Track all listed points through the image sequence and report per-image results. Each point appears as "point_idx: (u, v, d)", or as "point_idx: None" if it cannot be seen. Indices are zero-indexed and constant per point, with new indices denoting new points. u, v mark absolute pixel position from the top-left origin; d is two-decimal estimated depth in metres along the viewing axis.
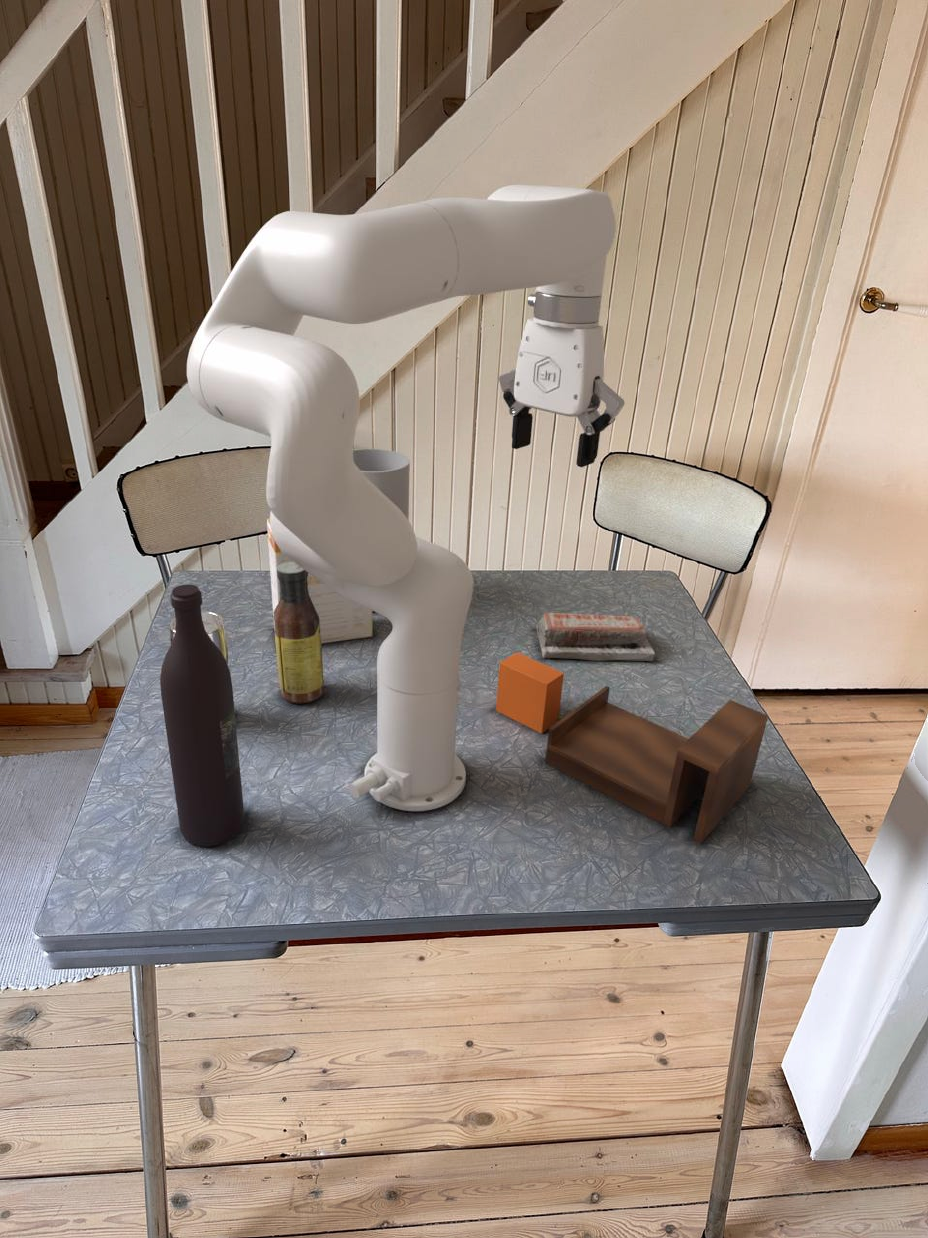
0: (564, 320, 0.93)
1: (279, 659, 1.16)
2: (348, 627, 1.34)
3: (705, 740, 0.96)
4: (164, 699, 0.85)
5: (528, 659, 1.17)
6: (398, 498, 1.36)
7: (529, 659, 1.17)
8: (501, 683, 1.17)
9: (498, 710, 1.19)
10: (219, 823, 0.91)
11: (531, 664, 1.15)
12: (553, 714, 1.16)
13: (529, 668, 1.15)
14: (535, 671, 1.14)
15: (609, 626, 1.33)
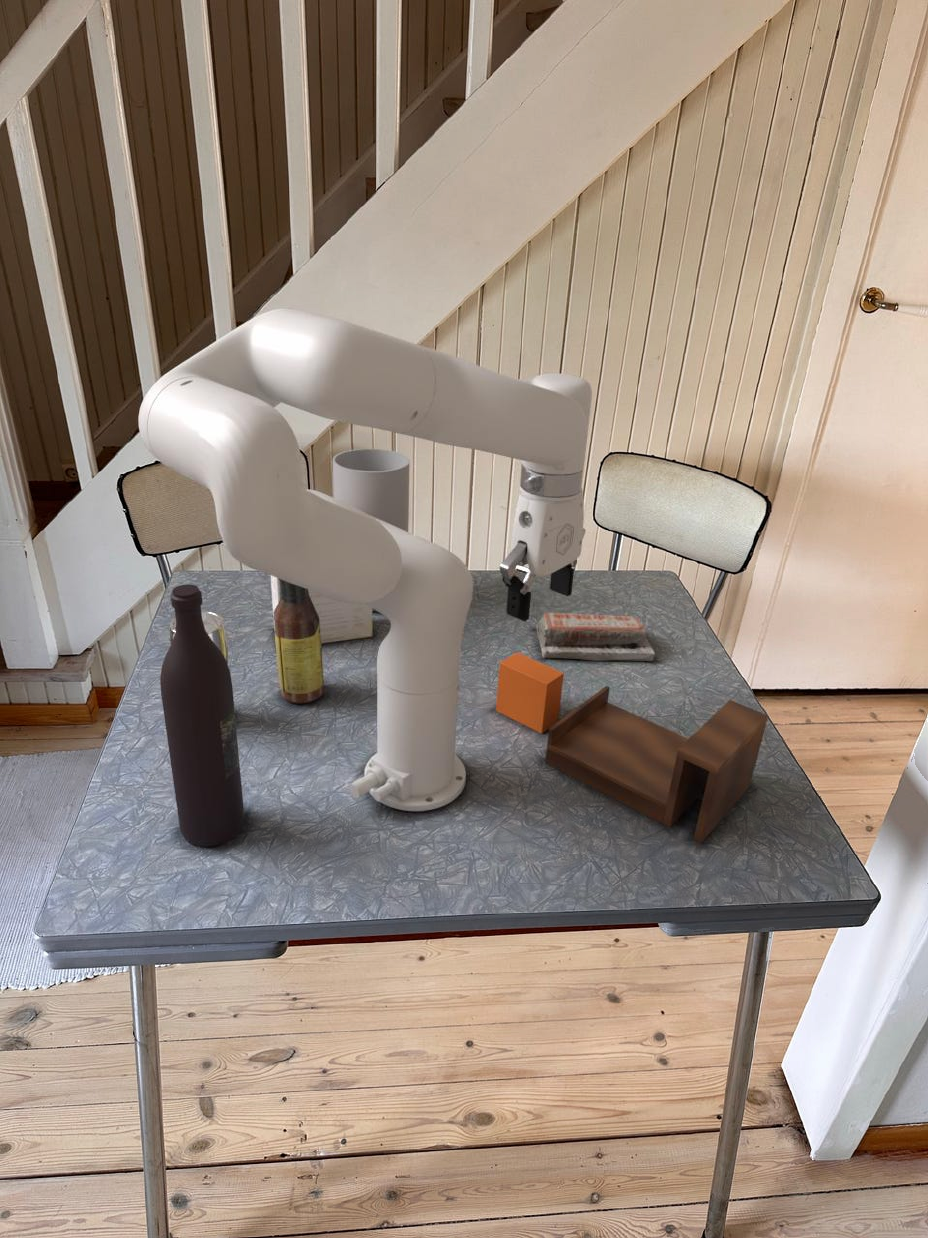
0: (581, 487, 1.02)
1: (279, 659, 1.16)
2: (348, 627, 1.34)
3: (705, 740, 0.96)
4: (164, 699, 0.85)
5: (528, 659, 1.17)
6: (398, 498, 1.36)
7: (529, 659, 1.17)
8: (501, 683, 1.17)
9: (498, 710, 1.19)
10: (219, 823, 0.91)
11: (531, 664, 1.15)
12: (553, 714, 1.16)
13: (529, 668, 1.15)
14: (535, 671, 1.14)
15: (609, 626, 1.33)
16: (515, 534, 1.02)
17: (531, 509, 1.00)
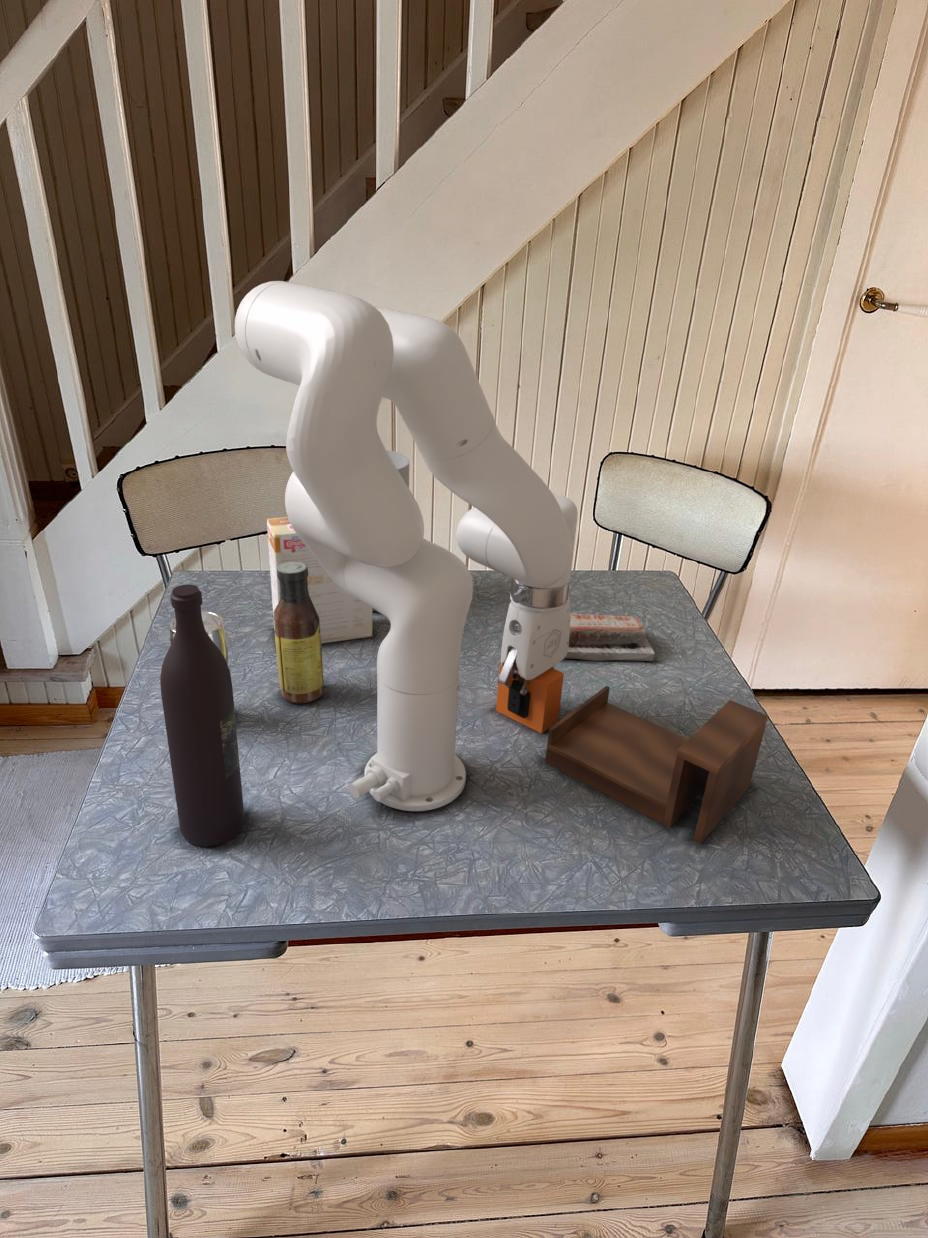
0: None
1: (279, 659, 1.16)
2: (348, 627, 1.34)
3: (705, 740, 0.96)
4: (164, 699, 0.85)
5: None
6: None
7: None
8: None
9: (498, 710, 1.19)
10: (219, 823, 0.91)
11: None
12: (553, 714, 1.16)
13: None
14: None
15: (609, 626, 1.33)
16: (505, 639, 1.09)
17: (520, 619, 1.07)
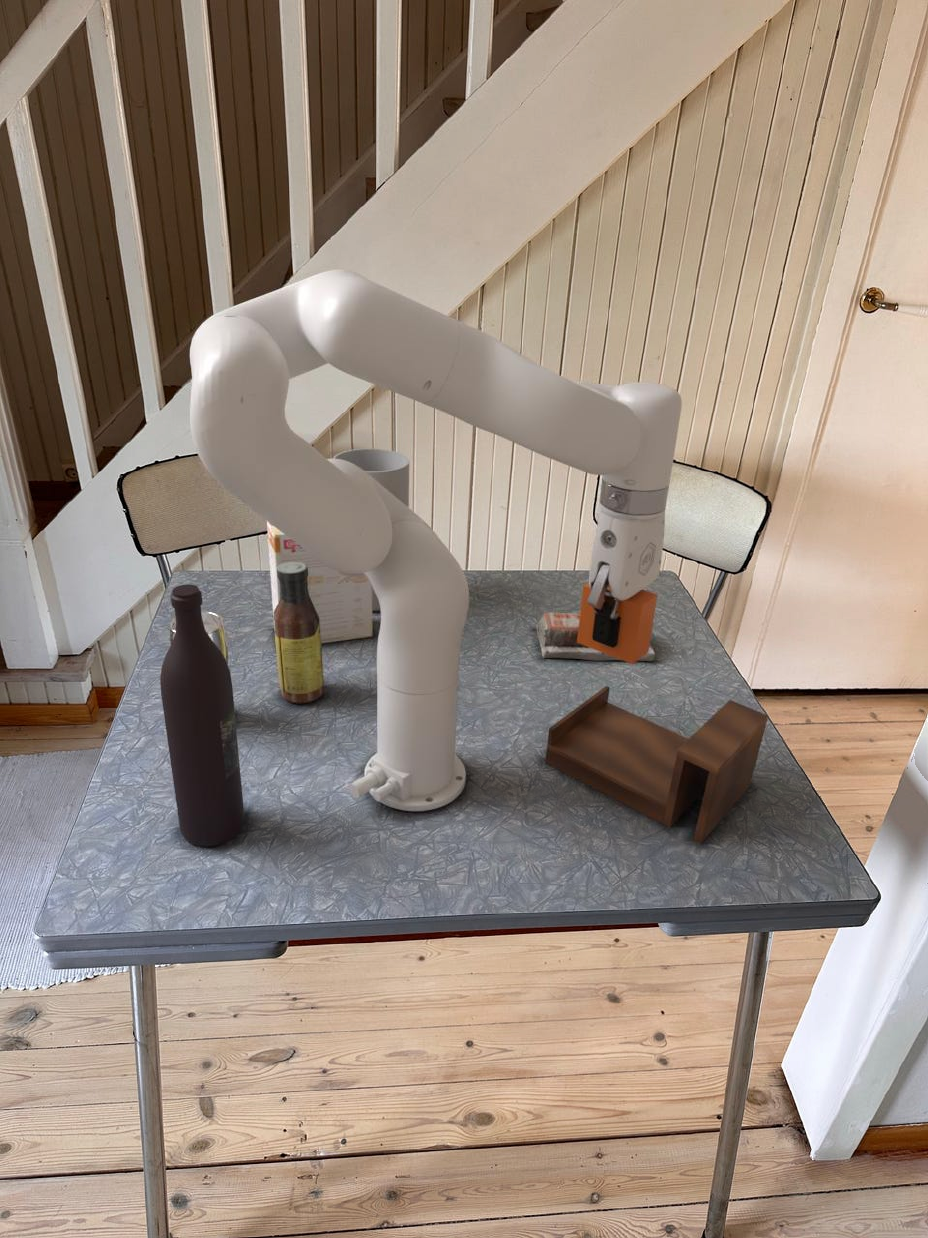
0: None
1: (279, 659, 1.16)
2: (348, 627, 1.34)
3: (705, 740, 0.96)
4: (164, 699, 0.85)
5: None
6: (398, 498, 1.36)
7: None
8: (584, 610, 1.03)
9: (580, 641, 1.05)
10: (219, 823, 0.91)
11: None
12: (644, 643, 1.02)
13: None
14: None
15: None
16: (596, 554, 0.96)
17: (615, 528, 0.93)
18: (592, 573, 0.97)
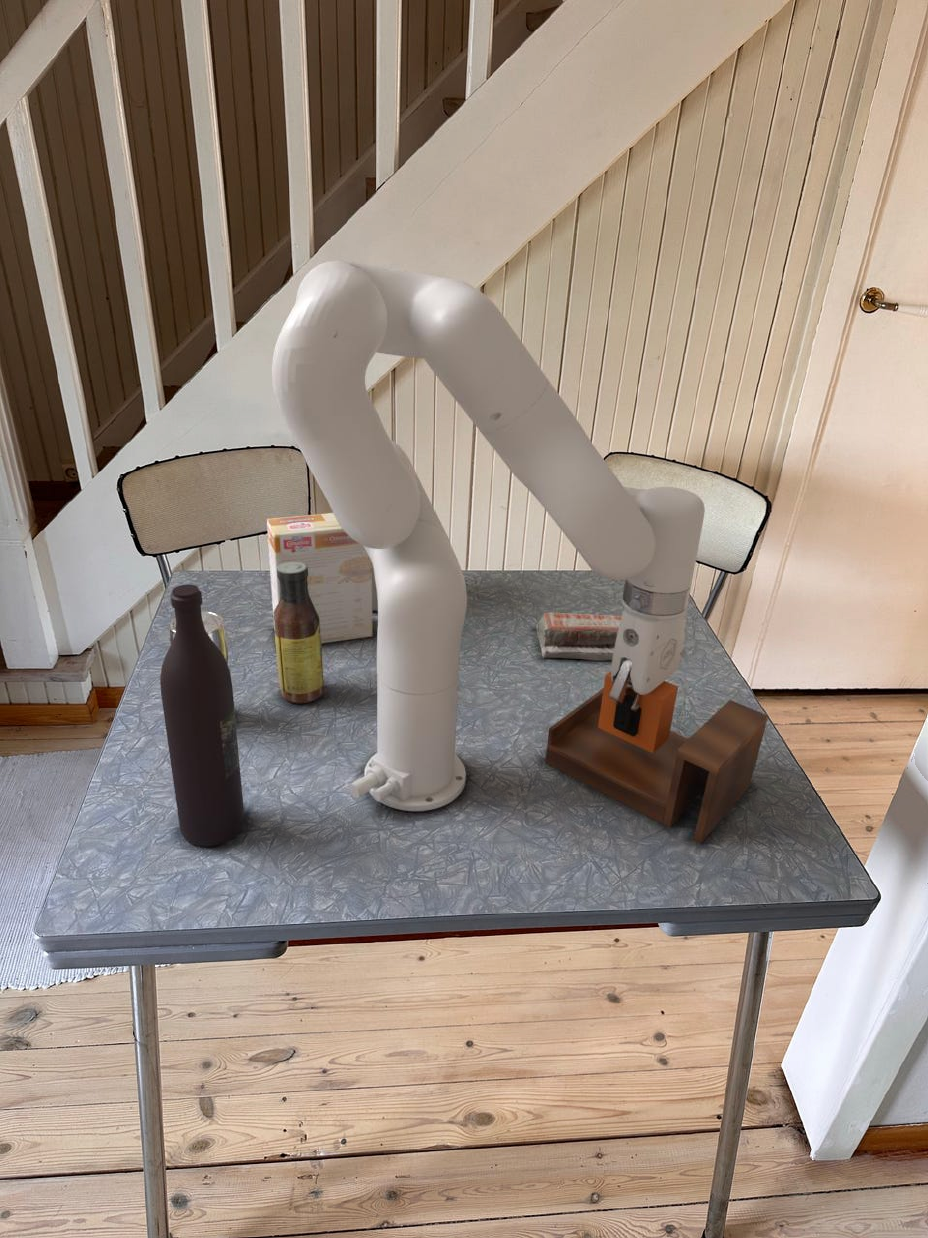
0: None
1: (279, 659, 1.16)
2: (348, 627, 1.34)
3: (705, 740, 0.96)
4: (164, 699, 0.85)
5: None
6: None
7: None
8: (606, 698, 1.06)
9: (601, 727, 1.08)
10: (219, 823, 0.91)
11: None
12: (664, 732, 1.04)
13: None
14: None
15: (608, 626, 1.33)
16: (618, 650, 0.98)
17: (637, 627, 0.96)
18: (614, 667, 0.99)
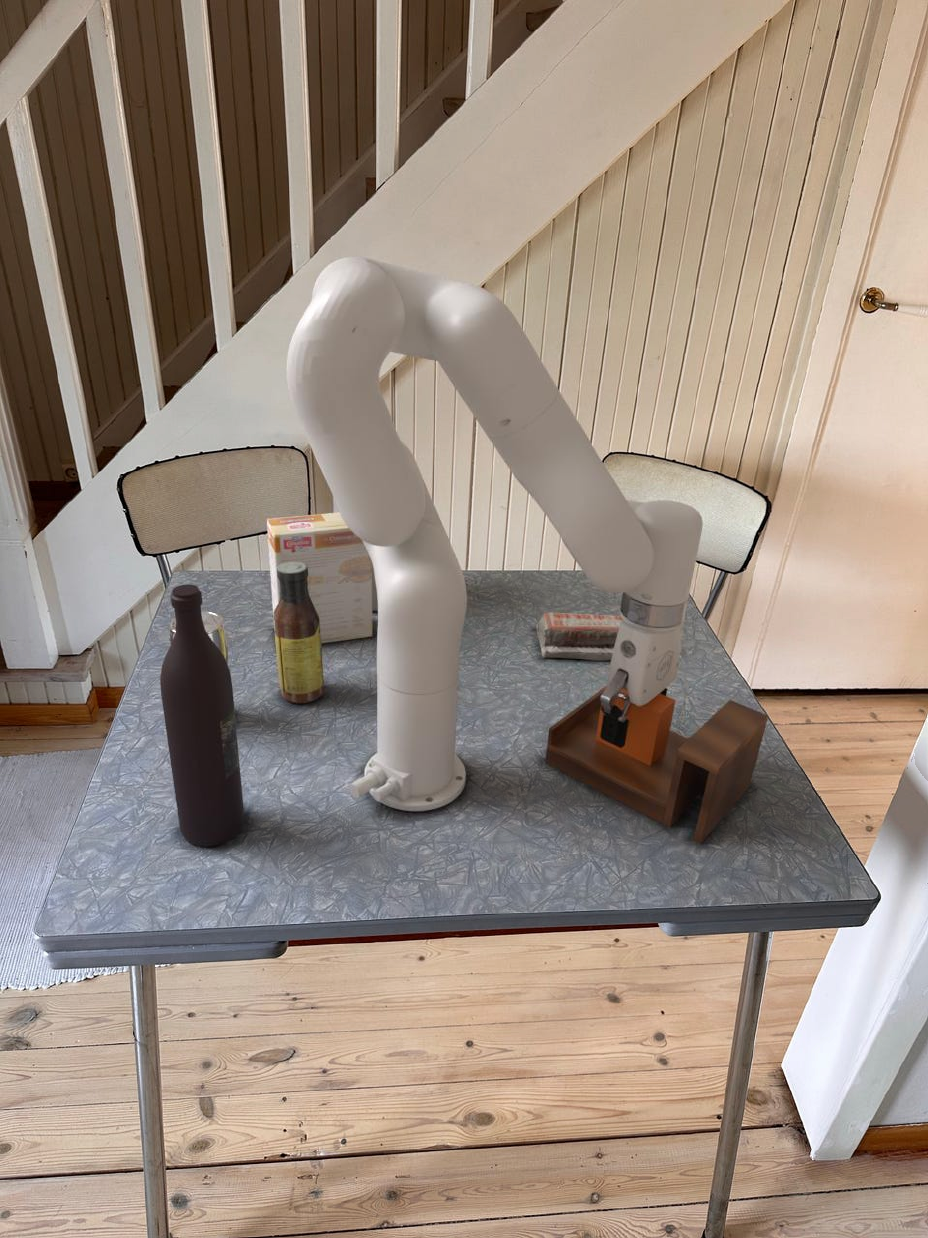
0: None
1: (279, 659, 1.16)
2: (348, 627, 1.34)
3: (705, 740, 0.96)
4: (164, 699, 0.85)
5: None
6: None
7: None
8: None
9: (599, 739, 1.09)
10: (219, 823, 0.91)
11: None
12: (662, 745, 1.05)
13: None
14: None
15: (608, 626, 1.33)
16: (615, 661, 0.99)
17: (635, 639, 0.96)
18: (611, 678, 1.00)
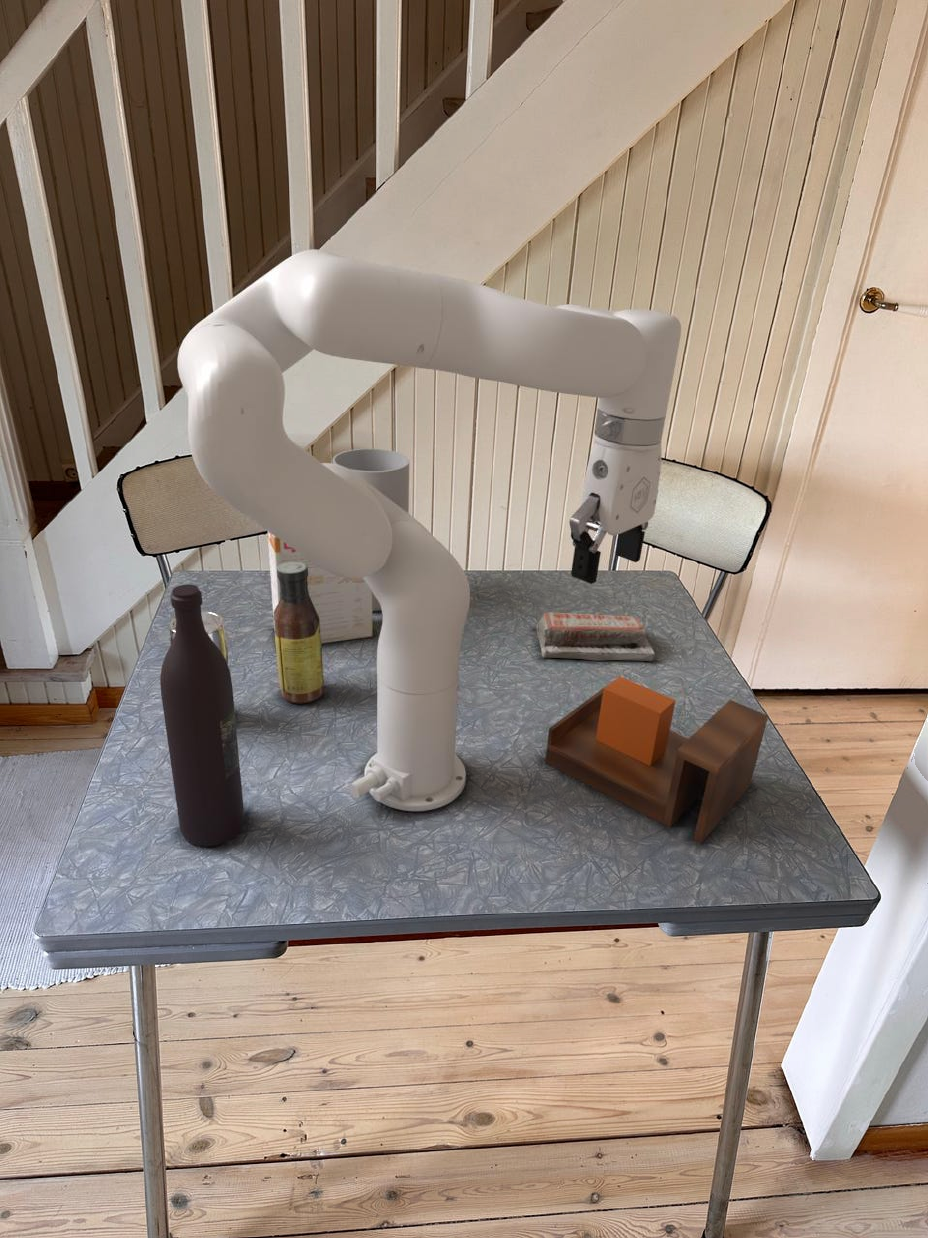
0: None
1: (279, 659, 1.16)
2: (348, 627, 1.34)
3: (705, 740, 0.96)
4: (164, 699, 0.85)
5: (634, 684, 1.06)
6: (398, 498, 1.36)
7: (635, 684, 1.06)
8: (604, 711, 1.06)
9: (599, 739, 1.09)
10: (219, 823, 0.91)
11: (639, 690, 1.05)
12: (662, 745, 1.05)
13: (637, 694, 1.04)
14: (644, 698, 1.04)
15: (608, 626, 1.33)
16: (587, 485, 0.94)
17: (607, 457, 0.91)
18: None
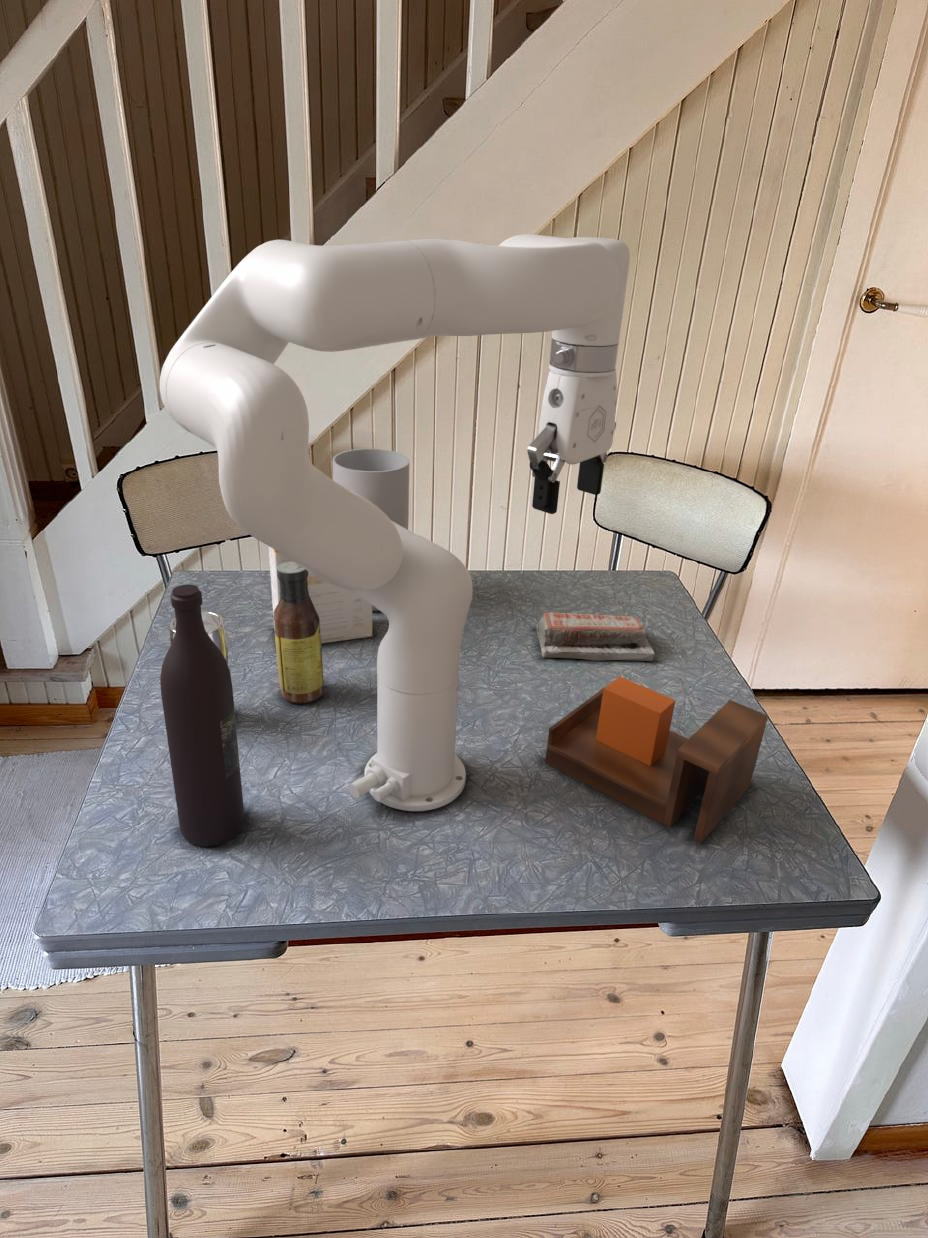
0: (615, 365, 0.95)
1: (279, 659, 1.16)
2: (348, 627, 1.34)
3: (705, 740, 0.96)
4: (164, 699, 0.85)
5: (634, 684, 1.06)
6: (398, 498, 1.36)
7: (635, 684, 1.06)
8: (604, 711, 1.06)
9: (599, 739, 1.09)
10: (219, 823, 0.91)
11: (639, 690, 1.05)
12: (662, 745, 1.05)
13: (637, 694, 1.04)
14: (644, 698, 1.04)
15: (608, 626, 1.33)
16: (544, 415, 0.95)
17: (562, 385, 0.92)
18: None
